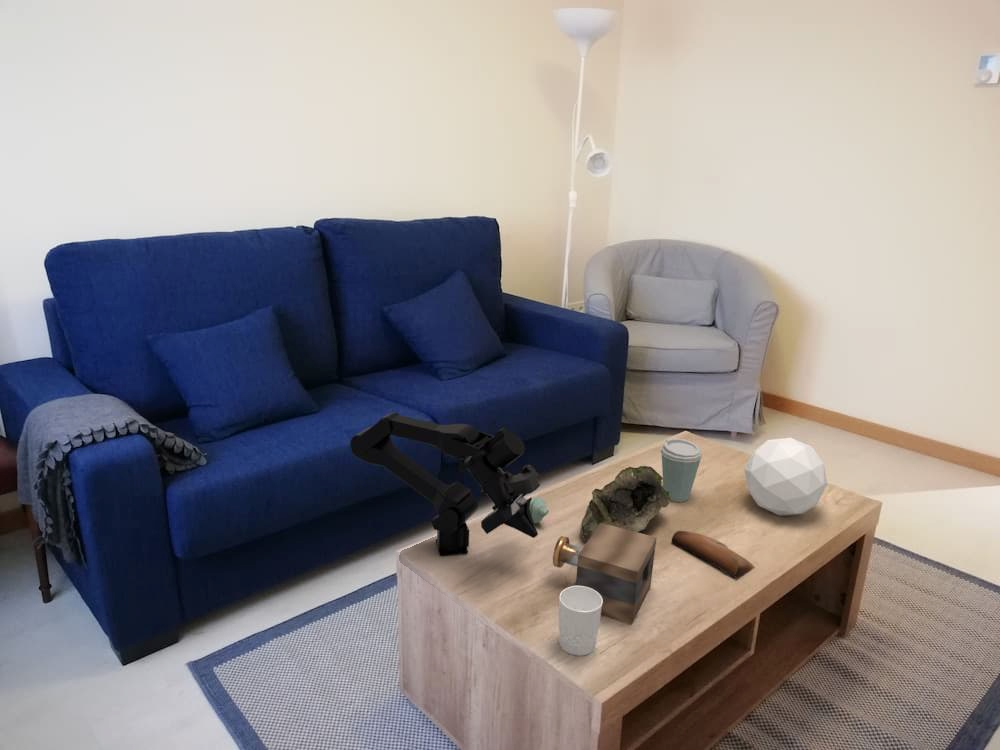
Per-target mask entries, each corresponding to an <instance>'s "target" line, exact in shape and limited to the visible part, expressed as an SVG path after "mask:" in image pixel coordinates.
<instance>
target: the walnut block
mask: <svg viewBox="0 0 1000 750" xmlns="http://www.w3.org/2000/svg"><path fill="white" fill-rule="evenodd" d="M656 545H657V537H656V536H652V535H649V534H648V535H647V534H644V533H641V532H639V531H638V532H634V531H630V530H626V529H622V528H619V527H615V526H611V525H607V524H603V523H600V524H599V526H598V527H597V529H596V530H595V532H594V533H593V534H592V536H591V537H590V539H589V540H588V542H587V541H586V543H585V544H584V546H582V548H583V549H582V550H581V552H580V553H579V555H578V564H577V566H576V577H575V586H585V587H589V588H591V589H594V590H595V591H597V592H598V593H599V594H600V595H601V597H602V599H603V604H602V610H601V616H603V617H605V618H609V619H612V620H615V621H619V622H622V623H625V624H629V625H630V626H632V625H633V624H634V622H635V620H636V618H637V616H638V614H639V612H640V610H641V607H642V605H643V604H644V601H645V599H646V597H647V595H648V593H649V591H650V589H651V586H652V578H653V569H654V560H655V553H656Z"/></svg>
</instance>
